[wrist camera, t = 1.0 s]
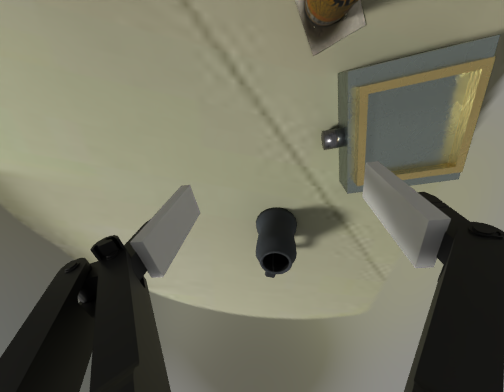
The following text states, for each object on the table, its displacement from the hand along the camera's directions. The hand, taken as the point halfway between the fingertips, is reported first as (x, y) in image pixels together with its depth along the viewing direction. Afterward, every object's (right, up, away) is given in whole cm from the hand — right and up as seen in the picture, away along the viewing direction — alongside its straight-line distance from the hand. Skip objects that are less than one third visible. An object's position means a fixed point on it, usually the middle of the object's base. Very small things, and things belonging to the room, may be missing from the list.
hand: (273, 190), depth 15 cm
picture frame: (+19, +11, +17) cm, 28 cm away
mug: (+4, -8, +30) cm, 32 cm away
